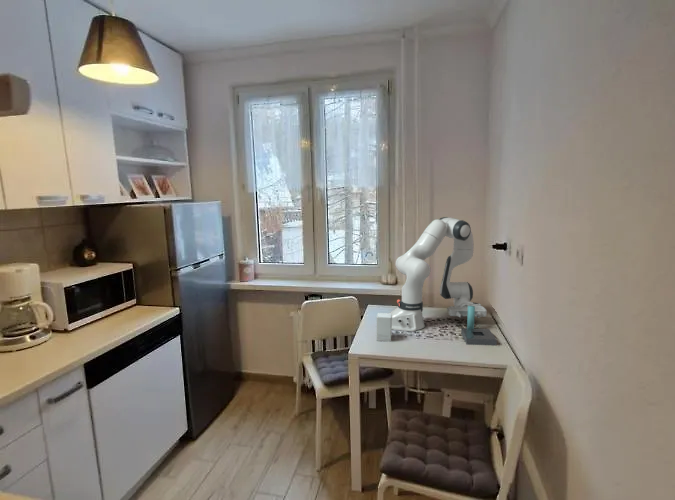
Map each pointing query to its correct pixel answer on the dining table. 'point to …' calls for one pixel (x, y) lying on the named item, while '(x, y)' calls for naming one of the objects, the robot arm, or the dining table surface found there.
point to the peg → (470, 317)
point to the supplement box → (384, 326)
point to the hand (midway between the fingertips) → (469, 316)
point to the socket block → (478, 336)
